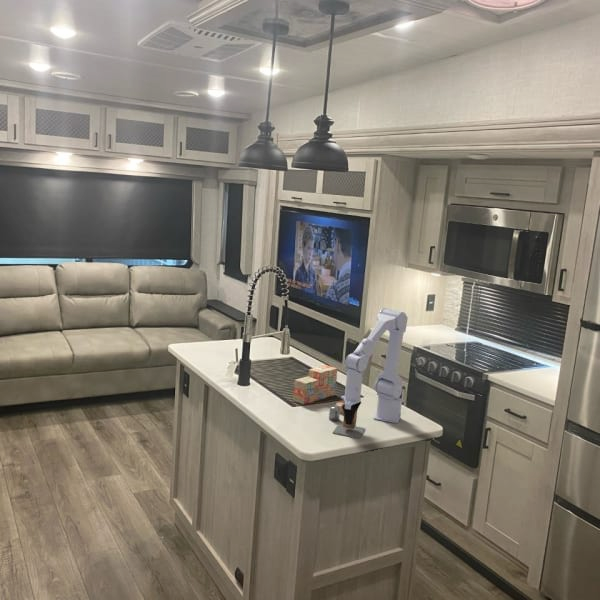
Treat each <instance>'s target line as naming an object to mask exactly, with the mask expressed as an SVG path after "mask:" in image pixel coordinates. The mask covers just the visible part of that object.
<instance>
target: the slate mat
mask: <svg viewBox="0 0 600 600" xmlns="http://www.w3.org/2000/svg"><path fill="white" fill-rule="evenodd" d="M365 430H366V428H365V427H362V426H357V425H356V426H355V428H354V429H350V428H345V427H343V423H340V422H338V424H337V425H336V427H335V428H334V429H333V431H332V434H334V435H338V436H339V435H340V436H344V437H350V438H353V439H354V438H355V439H360V438H361V437H362V436H363V433H364V432H365Z"/></svg>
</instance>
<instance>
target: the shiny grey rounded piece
mask: <svg viewBox="0 0 600 600" xmlns="http://www.w3.org/2000/svg"><path fill="white" fill-rule="evenodd" d="M328 414H329V416H328V420H329V421H331V422H334V423H335V422H336V423H337V422H339V421H340V417H341V416H340V415H341V414H340V407H339V406H336V405H329V413H328Z"/></svg>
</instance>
